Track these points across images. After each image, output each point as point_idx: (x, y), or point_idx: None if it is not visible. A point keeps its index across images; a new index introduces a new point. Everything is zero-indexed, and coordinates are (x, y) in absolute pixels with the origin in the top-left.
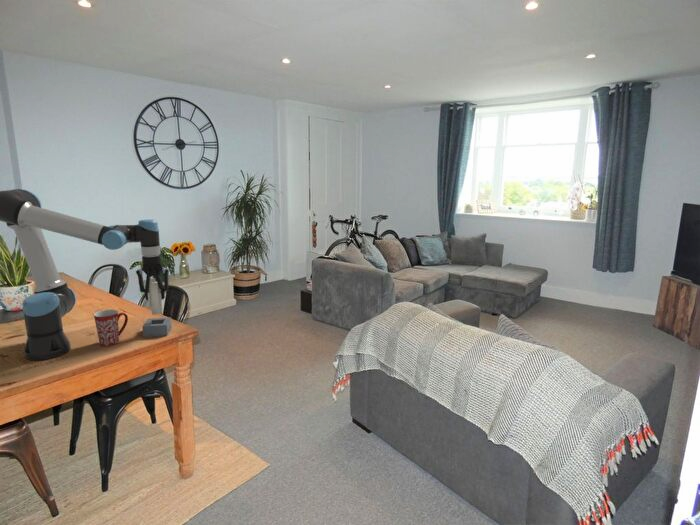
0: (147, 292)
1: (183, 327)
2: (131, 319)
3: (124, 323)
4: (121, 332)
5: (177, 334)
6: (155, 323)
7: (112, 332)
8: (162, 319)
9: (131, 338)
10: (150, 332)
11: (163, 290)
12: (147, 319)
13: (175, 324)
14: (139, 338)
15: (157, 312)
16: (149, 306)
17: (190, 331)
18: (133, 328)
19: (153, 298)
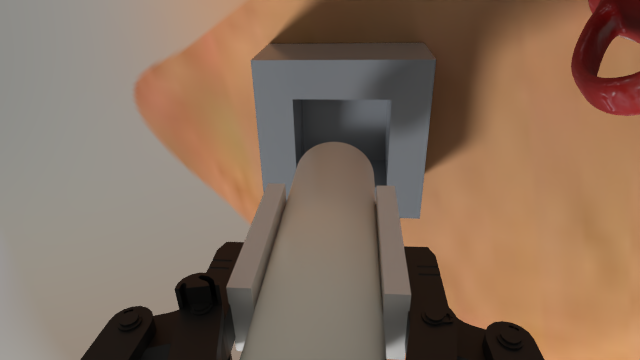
0: (413, 309)
1: (210, 168)
2: None
3: (593, 66)
4: (591, 16)
5: (210, 55)
6: None
7: None
8: None
9: (501, 32)
10: (376, 49)
11: (181, 322)
12: (419, 204)
13: None
14: (447, 23)
15: (317, 151)
16: (388, 190)
17: (145, 95)
18: (504, 205)
19: (332, 230)
